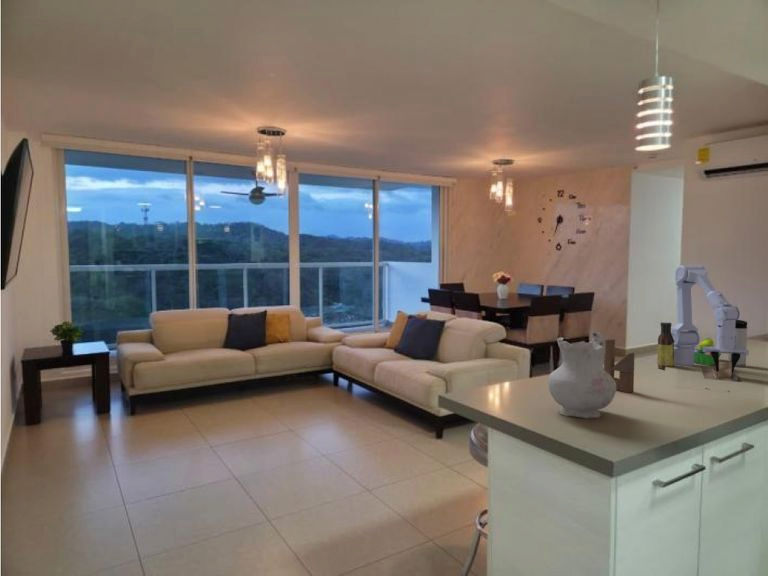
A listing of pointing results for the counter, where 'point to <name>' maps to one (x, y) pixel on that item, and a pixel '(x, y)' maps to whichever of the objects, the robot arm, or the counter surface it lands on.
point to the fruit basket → (704, 353)
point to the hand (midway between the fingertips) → (724, 371)
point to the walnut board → (711, 374)
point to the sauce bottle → (665, 347)
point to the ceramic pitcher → (582, 379)
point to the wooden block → (619, 367)
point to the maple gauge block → (724, 368)
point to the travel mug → (740, 340)
